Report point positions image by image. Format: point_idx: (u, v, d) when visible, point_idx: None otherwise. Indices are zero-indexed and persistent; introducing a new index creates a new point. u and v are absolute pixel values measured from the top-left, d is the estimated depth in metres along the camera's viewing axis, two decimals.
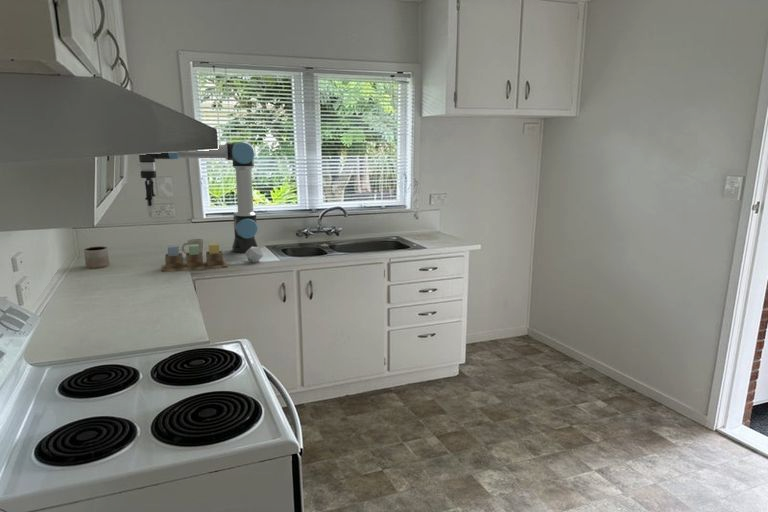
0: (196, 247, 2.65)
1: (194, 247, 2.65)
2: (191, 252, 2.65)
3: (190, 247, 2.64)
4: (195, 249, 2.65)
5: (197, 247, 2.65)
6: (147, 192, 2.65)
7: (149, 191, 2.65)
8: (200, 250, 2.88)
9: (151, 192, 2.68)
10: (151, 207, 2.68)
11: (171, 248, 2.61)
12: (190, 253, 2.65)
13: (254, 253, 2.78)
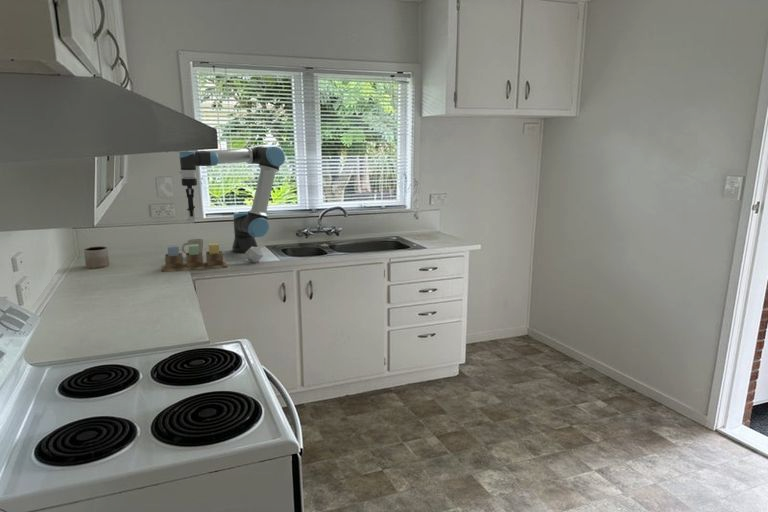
0: (196, 247, 2.65)
1: (194, 247, 2.65)
2: (191, 252, 2.65)
3: (190, 247, 2.64)
4: (195, 249, 2.65)
5: (197, 247, 2.65)
6: (189, 203, 2.63)
7: (191, 202, 2.63)
8: (200, 250, 2.88)
9: None
10: (192, 218, 2.68)
11: (171, 248, 2.61)
12: (190, 253, 2.65)
13: (254, 253, 2.78)
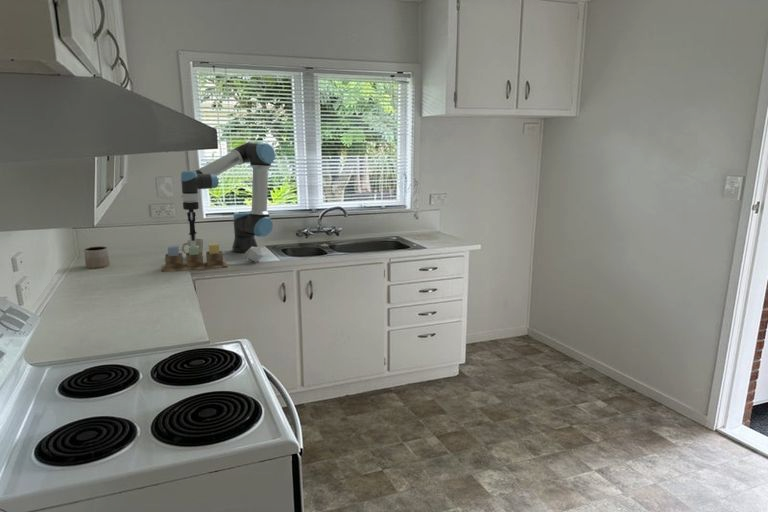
0: (196, 248, 2.65)
1: (194, 248, 2.65)
2: (191, 253, 2.65)
3: (190, 248, 2.64)
4: (195, 250, 2.66)
5: (197, 248, 2.66)
6: (191, 228, 2.61)
7: (193, 227, 2.61)
8: (200, 250, 2.88)
9: None
10: (194, 242, 2.66)
11: (171, 248, 2.61)
12: (190, 254, 2.65)
13: (254, 253, 2.78)
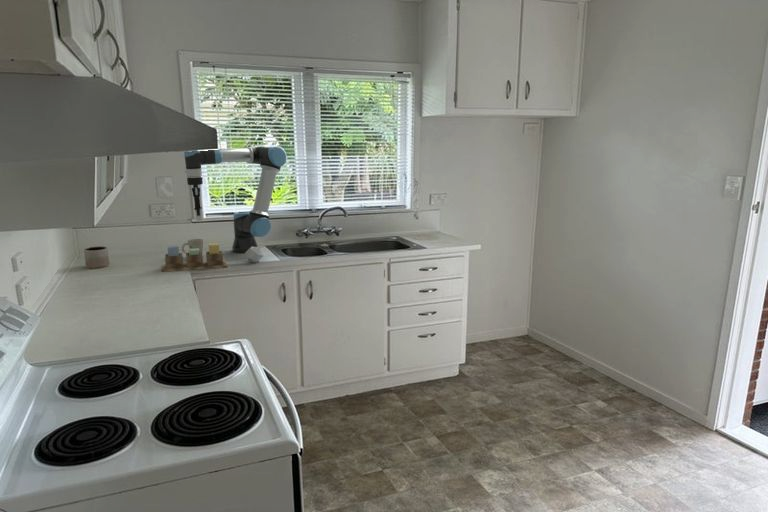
0: (196, 251, 2.66)
1: (194, 251, 2.65)
2: None
3: (190, 251, 2.65)
4: (195, 253, 2.66)
5: (197, 251, 2.66)
6: (196, 203, 2.65)
7: (198, 202, 2.65)
8: (200, 250, 2.88)
9: None
10: (199, 217, 2.71)
11: (171, 248, 2.61)
12: None
13: (254, 253, 2.78)
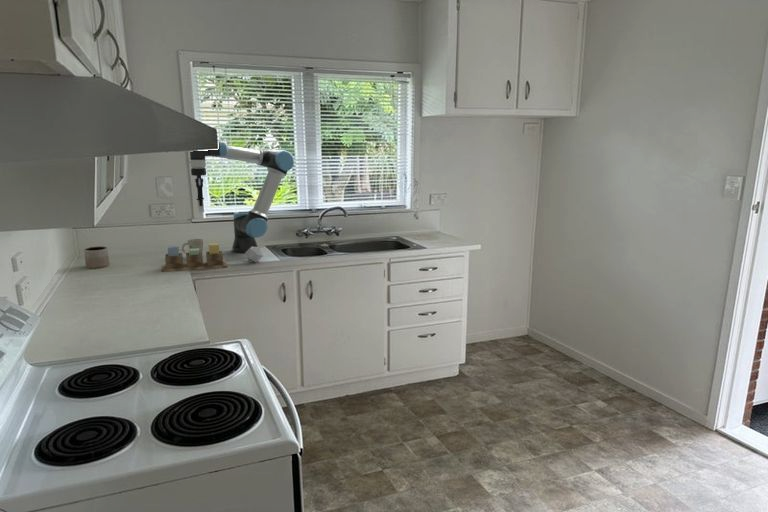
0: (196, 251, 2.66)
1: (194, 251, 2.65)
2: None
3: (190, 251, 2.65)
4: (195, 253, 2.66)
5: (197, 251, 2.66)
6: (199, 193, 2.70)
7: (200, 192, 2.70)
8: (200, 250, 2.88)
9: None
10: (202, 207, 2.75)
11: (171, 248, 2.61)
12: None
13: (254, 253, 2.78)
